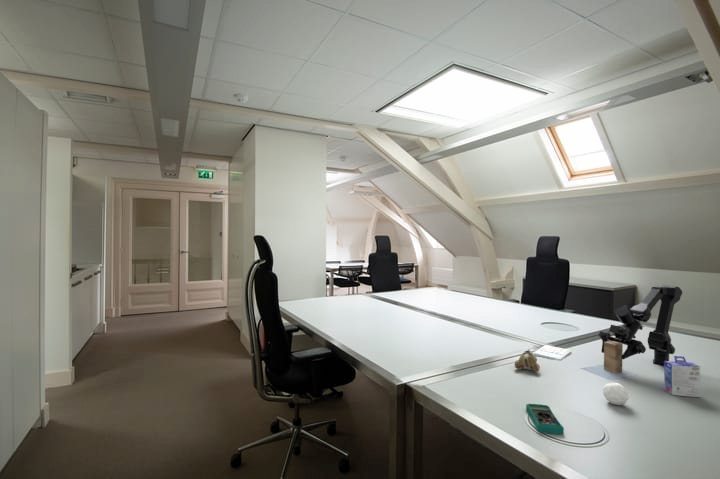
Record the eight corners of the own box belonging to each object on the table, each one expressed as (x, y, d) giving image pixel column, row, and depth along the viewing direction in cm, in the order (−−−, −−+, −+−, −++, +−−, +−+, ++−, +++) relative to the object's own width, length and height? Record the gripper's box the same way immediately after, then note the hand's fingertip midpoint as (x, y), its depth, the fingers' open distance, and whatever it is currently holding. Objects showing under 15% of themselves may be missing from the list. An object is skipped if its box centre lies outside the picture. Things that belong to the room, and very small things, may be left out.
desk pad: (607, 364, 172) (607, 364, 172) (637, 375, 158) (637, 374, 158) (580, 368, 166) (580, 368, 166) (609, 380, 153) (609, 379, 153)
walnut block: (611, 368, 166) (611, 340, 166) (622, 372, 161) (622, 344, 161) (603, 369, 165) (604, 341, 164) (614, 373, 160) (614, 344, 160)
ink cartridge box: (691, 391, 142) (691, 356, 142) (701, 398, 136) (701, 361, 136) (662, 389, 144) (663, 354, 144) (672, 395, 138) (672, 359, 138)
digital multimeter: (538, 434, 111) (538, 424, 111) (525, 410, 126) (525, 402, 126) (564, 437, 109) (564, 427, 109) (548, 412, 124) (548, 404, 124)
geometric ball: (609, 408, 133) (603, 386, 138) (634, 406, 128) (627, 384, 133) (603, 403, 129) (597, 380, 134) (629, 401, 124) (621, 378, 129)
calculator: (571, 353, 190) (571, 349, 190) (560, 362, 176) (560, 358, 176) (545, 347, 200) (545, 344, 200) (532, 355, 186) (532, 352, 186)
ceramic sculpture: (540, 347, 169) (539, 358, 156) (541, 365, 170) (539, 377, 157) (517, 344, 175) (513, 354, 162) (517, 361, 175) (513, 373, 162)
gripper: (601, 314, 173) (584, 338, 170) (642, 323, 155) (624, 350, 152) (612, 329, 176) (595, 353, 172) (653, 339, 158) (636, 366, 155)
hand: (611, 355), depth 163 cm, fingers open, 9 cm apart
